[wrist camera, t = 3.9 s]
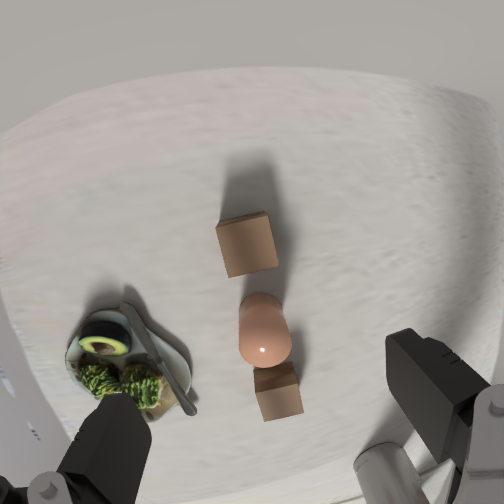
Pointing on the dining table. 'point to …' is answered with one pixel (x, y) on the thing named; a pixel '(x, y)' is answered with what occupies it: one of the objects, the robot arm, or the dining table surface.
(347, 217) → the dining table surface
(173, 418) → the dining table surface
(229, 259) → the front walnut cube
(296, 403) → the back walnut cube
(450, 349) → the robot arm
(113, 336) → the salad plate
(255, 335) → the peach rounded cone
